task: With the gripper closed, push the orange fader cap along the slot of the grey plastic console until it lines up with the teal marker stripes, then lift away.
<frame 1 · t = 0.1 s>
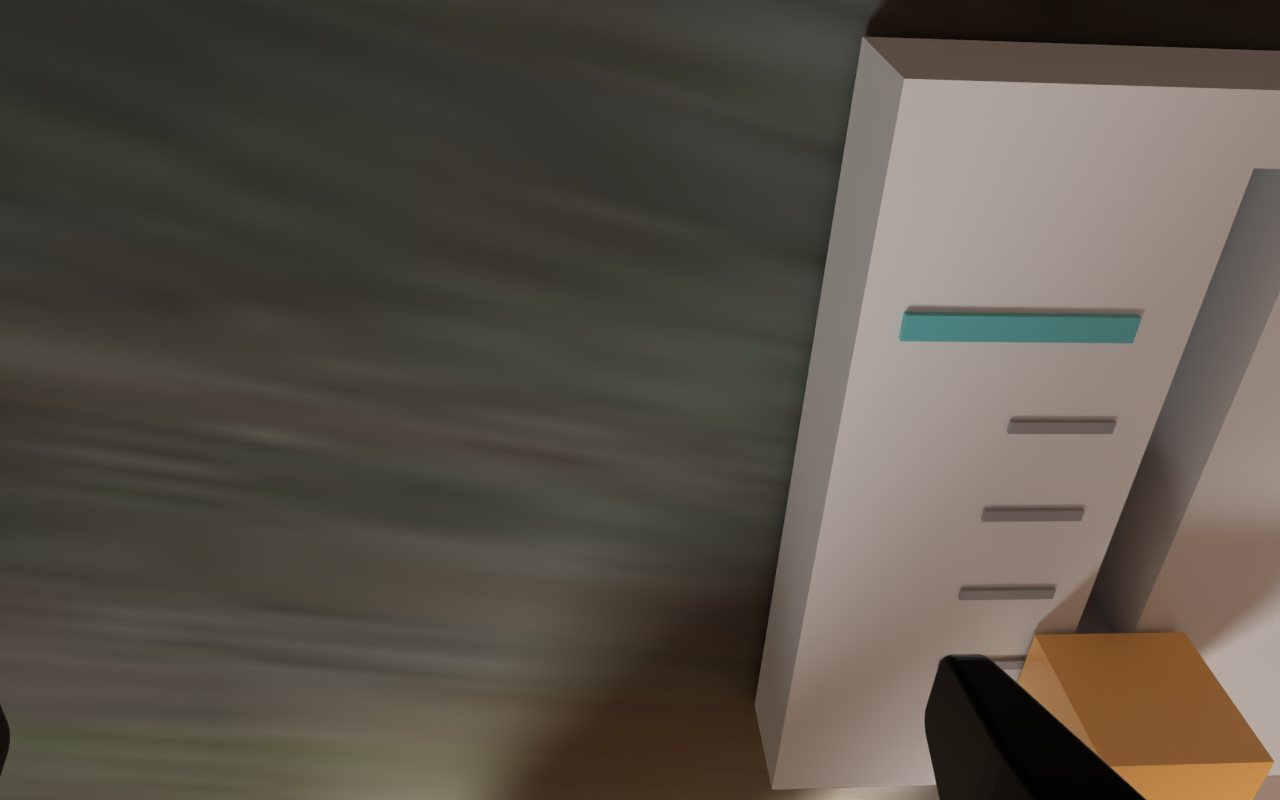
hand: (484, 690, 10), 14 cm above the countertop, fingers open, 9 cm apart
console: (1097, 439, 27), on the countertop
fader knob: (1111, 691, 27), point 4 cm above the countertop, slide at -5.0 cm
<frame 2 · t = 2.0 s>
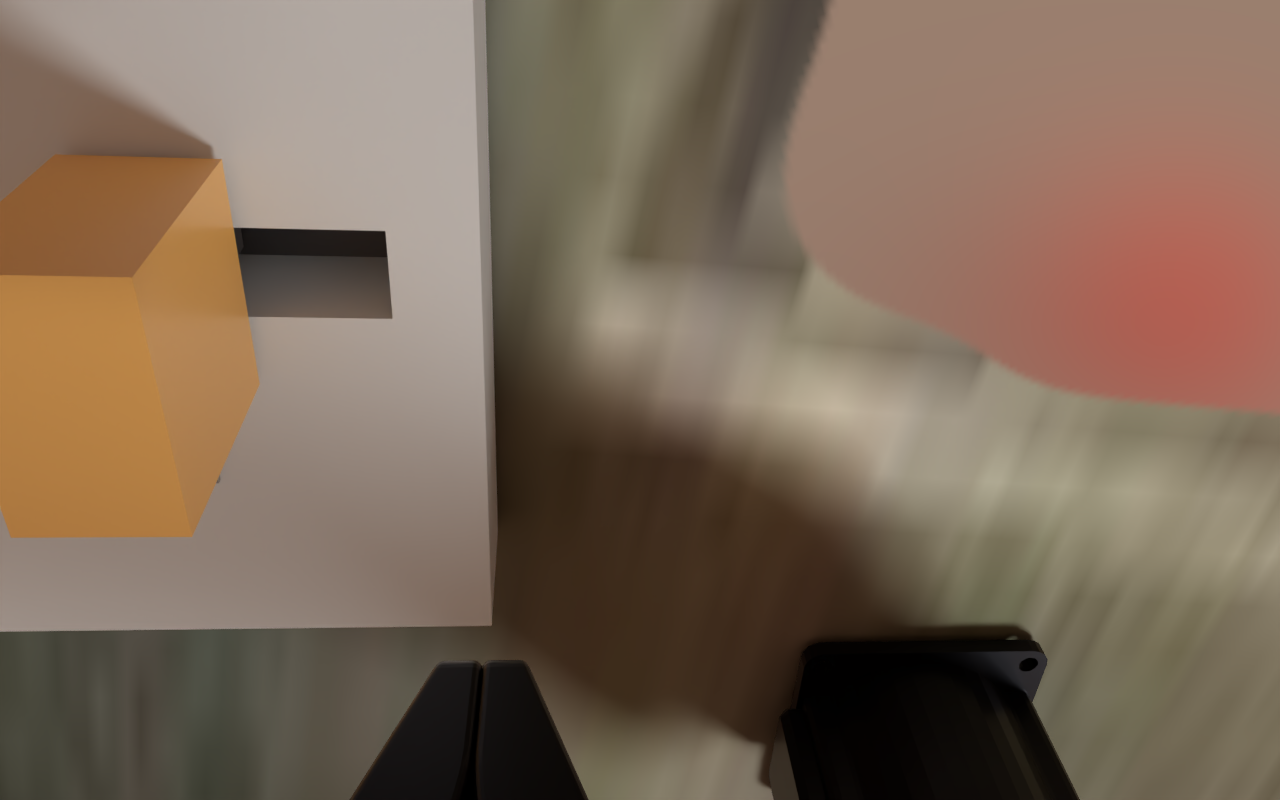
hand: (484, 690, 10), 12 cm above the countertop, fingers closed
fader knob: (147, 302, 16), point 4 cm above the countertop, slide at -5.0 cm
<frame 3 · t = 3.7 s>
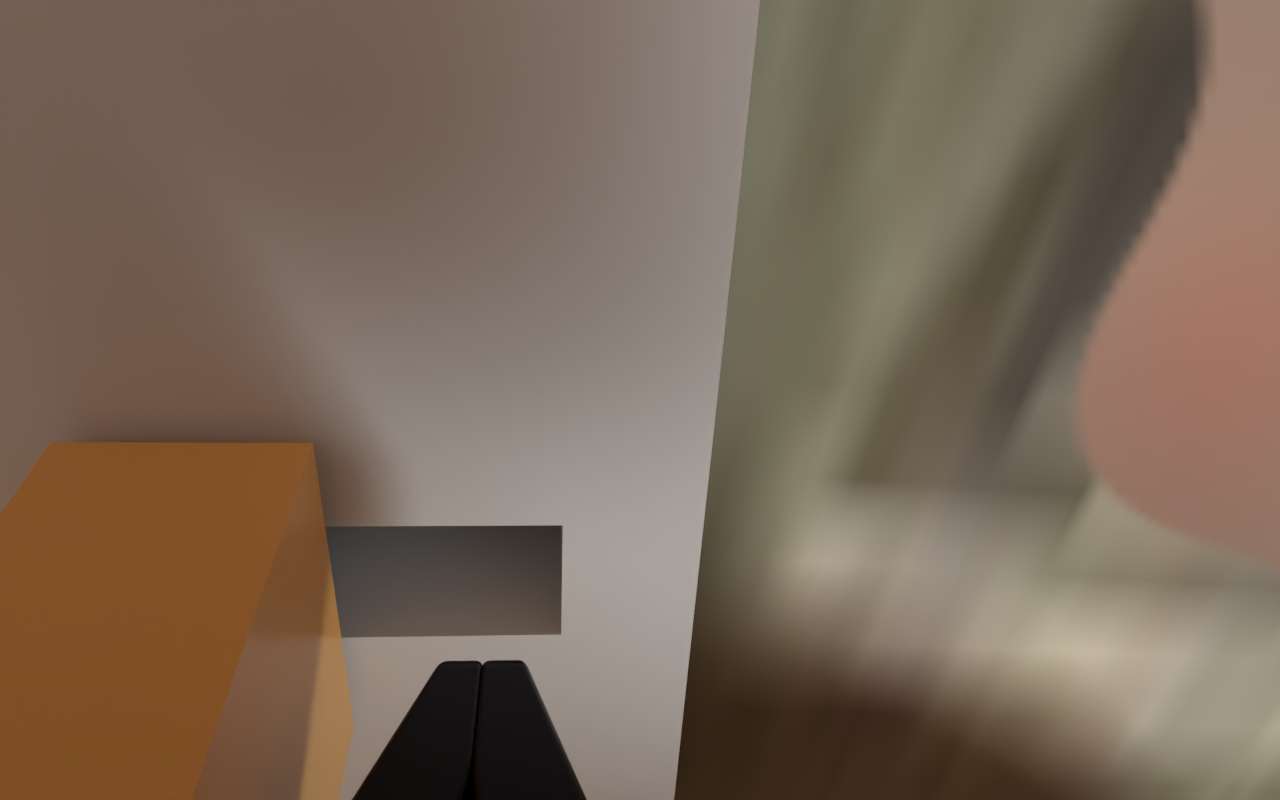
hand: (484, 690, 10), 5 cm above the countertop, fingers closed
fader knob: (195, 659, 10), point 4 cm above the countertop, slide at -4.9 cm, touching gripper
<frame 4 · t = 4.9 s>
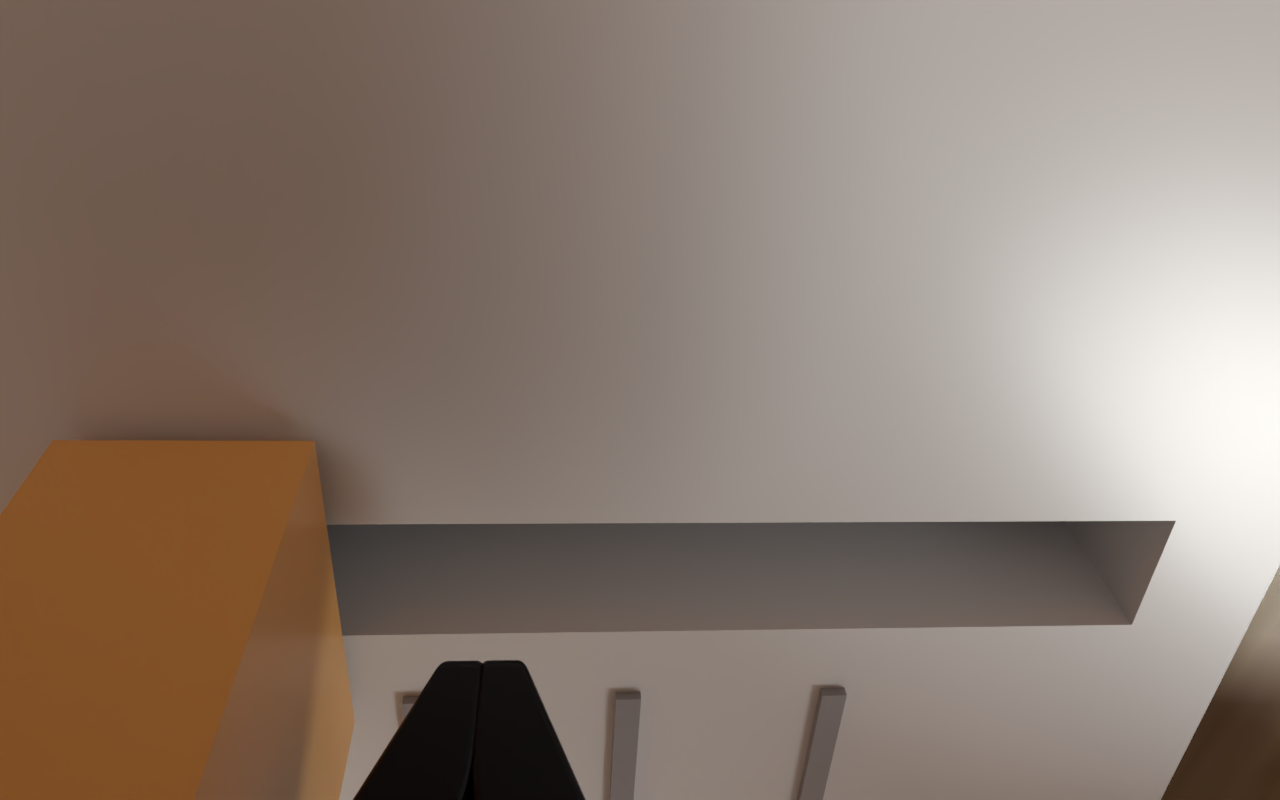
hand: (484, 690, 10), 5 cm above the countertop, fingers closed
console: (432, 425, 14), on the countertop
fader knob: (196, 656, 10), point 4 cm above the countertop, slide at 1.9 cm, touching gripper
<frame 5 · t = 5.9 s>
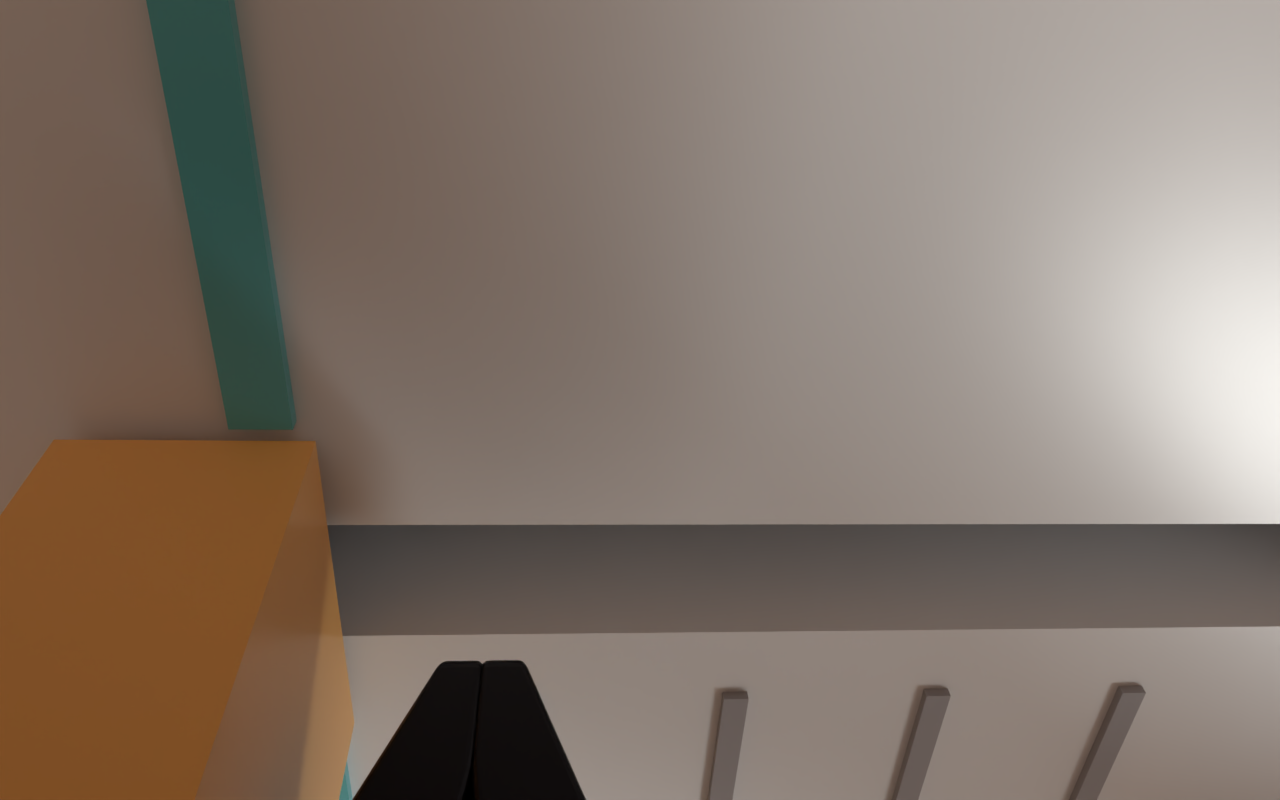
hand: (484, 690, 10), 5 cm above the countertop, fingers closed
console: (716, 428, 14), on the countertop
fader knob: (197, 656, 10), point 4 cm above the countertop, slide at 5.7 cm, touching gripper
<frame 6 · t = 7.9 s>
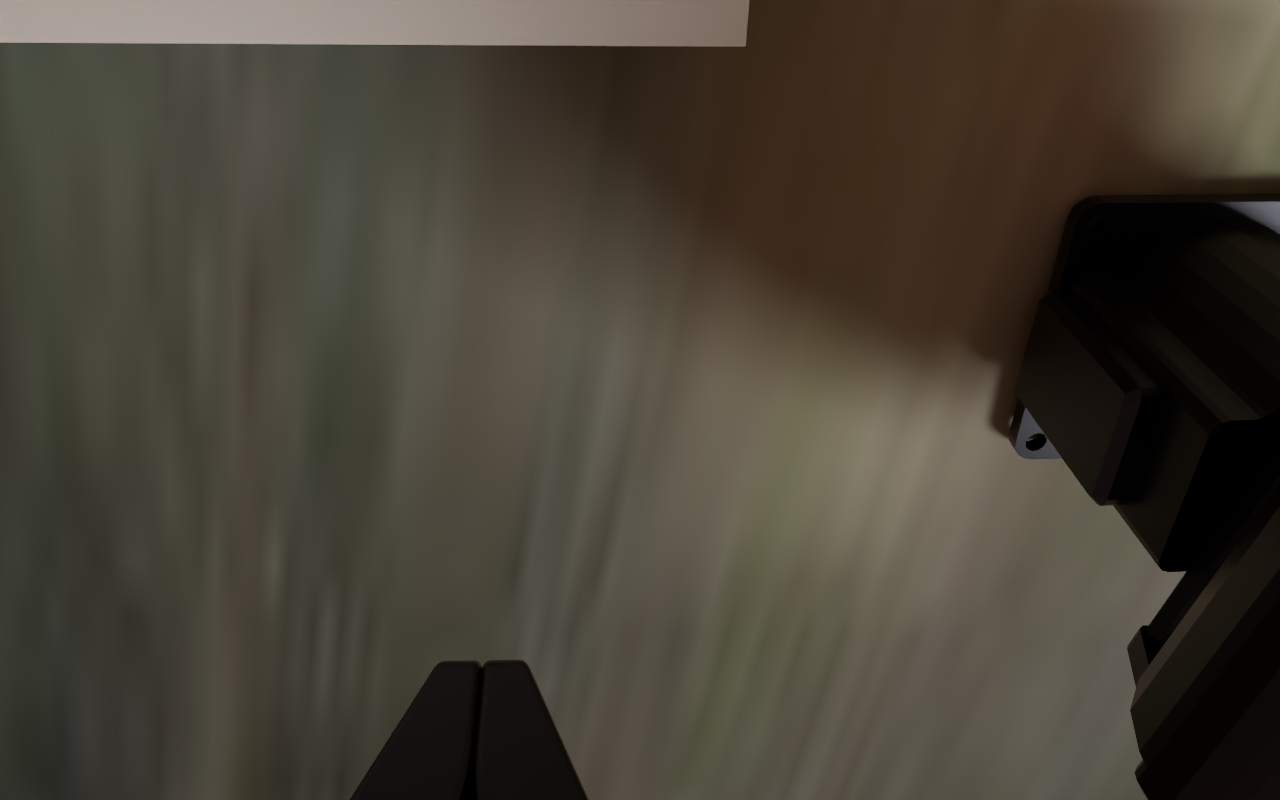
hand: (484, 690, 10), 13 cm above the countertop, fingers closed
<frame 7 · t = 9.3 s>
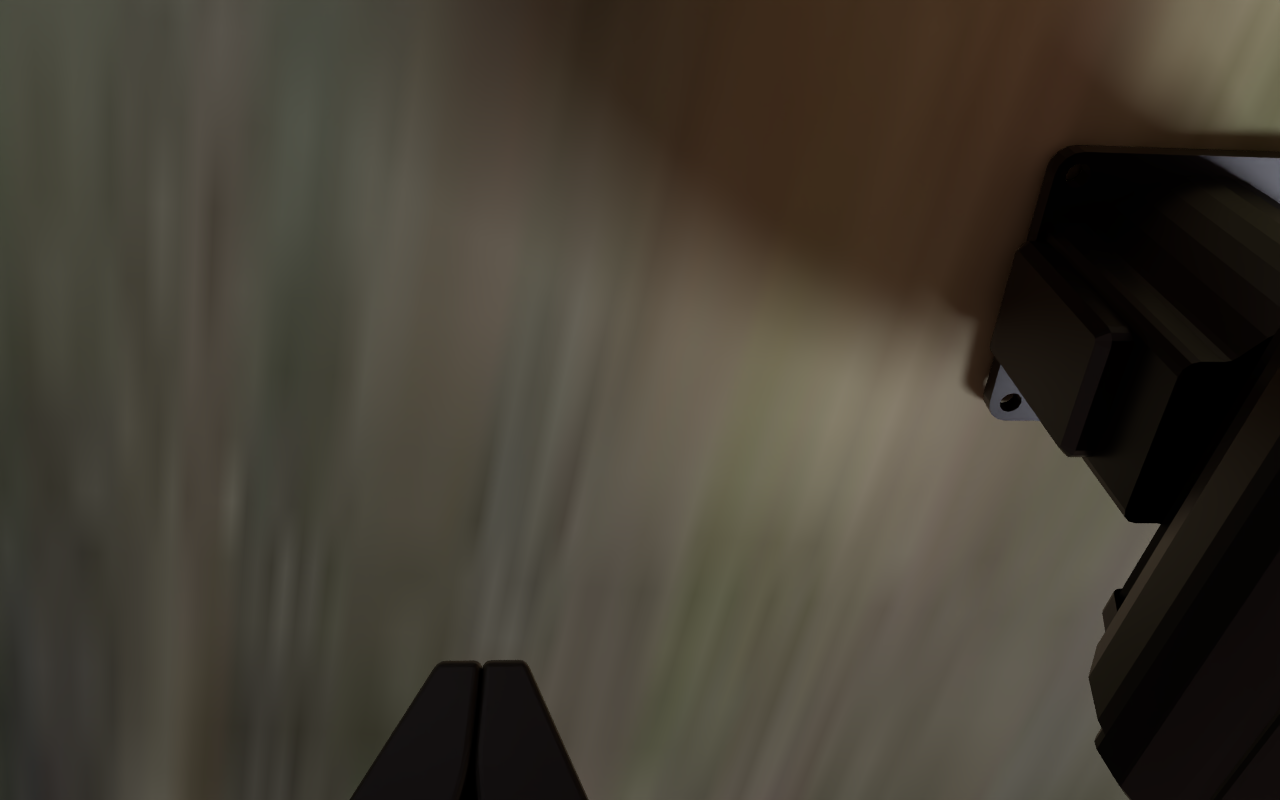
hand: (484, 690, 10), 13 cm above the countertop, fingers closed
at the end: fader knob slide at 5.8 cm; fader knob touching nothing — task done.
